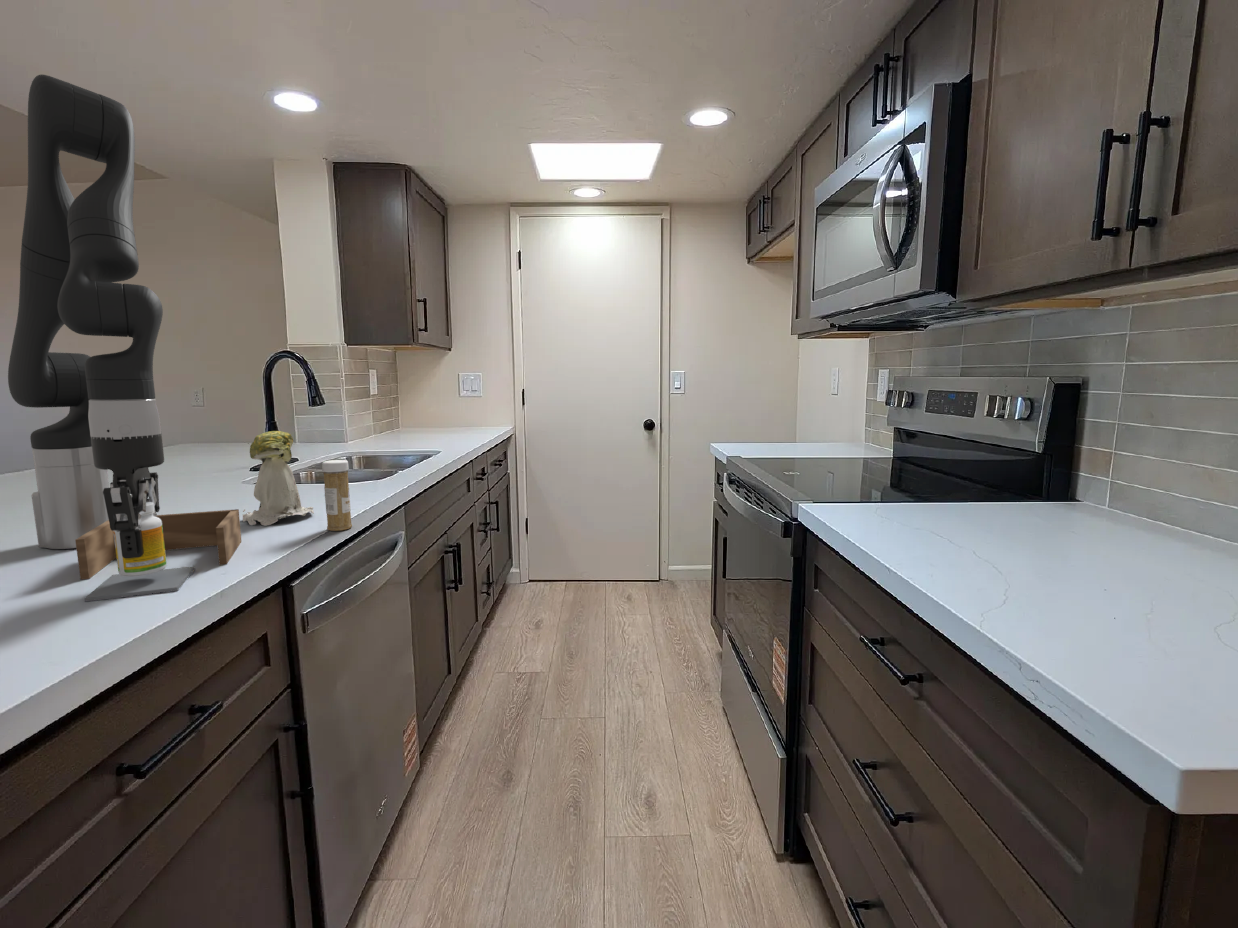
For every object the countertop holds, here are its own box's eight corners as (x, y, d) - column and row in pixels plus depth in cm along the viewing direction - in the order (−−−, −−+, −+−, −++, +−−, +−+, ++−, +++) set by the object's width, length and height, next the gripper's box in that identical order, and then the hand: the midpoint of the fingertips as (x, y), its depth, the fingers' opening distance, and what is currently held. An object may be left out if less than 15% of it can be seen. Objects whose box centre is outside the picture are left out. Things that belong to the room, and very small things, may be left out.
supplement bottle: (176, 567, 85) (169, 502, 84) (135, 579, 80) (127, 509, 79) (150, 563, 87) (143, 499, 85) (109, 574, 82) (100, 506, 80)
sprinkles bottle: (355, 528, 115) (351, 461, 113) (331, 532, 112) (326, 463, 110) (347, 524, 118) (343, 458, 116) (323, 528, 115) (318, 460, 113)
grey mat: (112, 577, 86) (112, 574, 86) (194, 569, 90) (194, 566, 90) (85, 601, 77) (84, 597, 77) (177, 590, 81) (177, 587, 81)
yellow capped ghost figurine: (327, 515, 126) (321, 430, 123) (267, 528, 115) (260, 435, 112) (291, 509, 131) (285, 427, 129) (231, 521, 120) (223, 432, 117)
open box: (115, 553, 98) (110, 518, 97) (241, 541, 105) (238, 509, 104) (80, 579, 85) (75, 539, 84) (226, 564, 93) (223, 527, 92)
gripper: (111, 428, 85) (124, 541, 88) (68, 438, 73) (85, 569, 75) (174, 427, 89) (185, 536, 91) (144, 436, 76) (158, 562, 78)
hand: (140, 550), depth 83 cm, fingers closed on supplement bottle, 5 cm apart
